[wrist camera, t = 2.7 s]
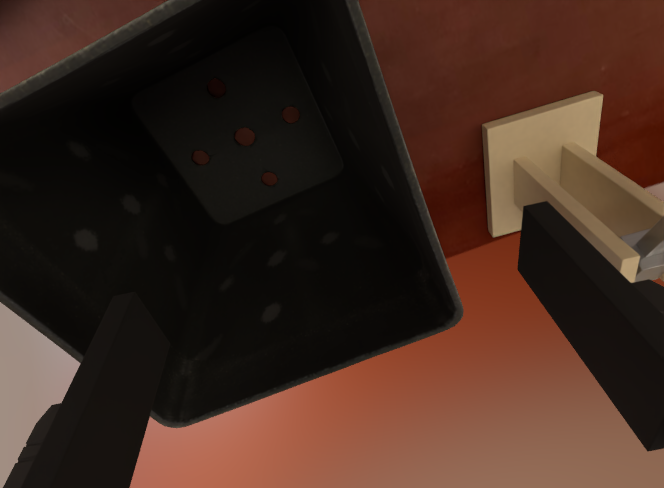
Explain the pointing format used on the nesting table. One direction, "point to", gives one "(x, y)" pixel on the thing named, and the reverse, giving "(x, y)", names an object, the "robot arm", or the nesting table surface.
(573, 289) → the robot arm
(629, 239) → the lever
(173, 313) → the flower pot
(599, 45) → the nesting table surface
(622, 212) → the bracket
